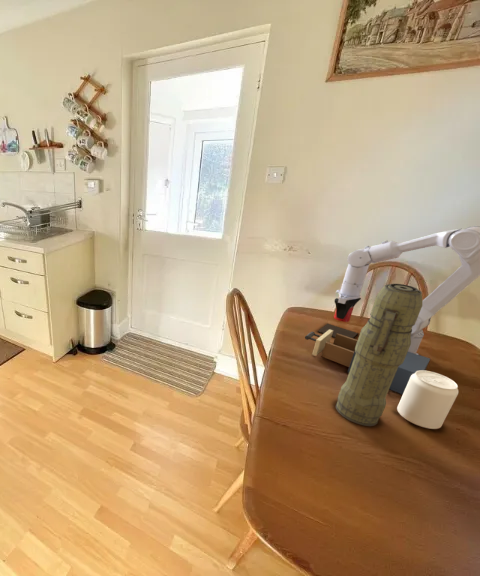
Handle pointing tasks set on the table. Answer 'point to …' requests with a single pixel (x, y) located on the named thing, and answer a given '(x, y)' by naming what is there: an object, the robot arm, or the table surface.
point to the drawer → (334, 347)
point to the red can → (347, 317)
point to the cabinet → (405, 370)
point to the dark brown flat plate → (337, 331)
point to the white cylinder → (427, 399)
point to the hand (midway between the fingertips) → (342, 316)
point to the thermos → (379, 353)
